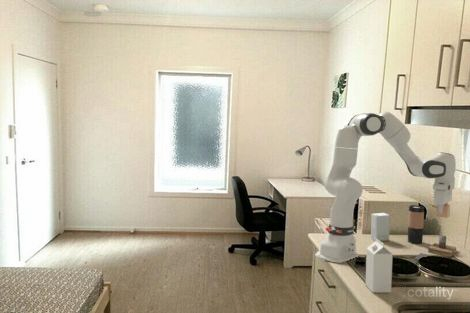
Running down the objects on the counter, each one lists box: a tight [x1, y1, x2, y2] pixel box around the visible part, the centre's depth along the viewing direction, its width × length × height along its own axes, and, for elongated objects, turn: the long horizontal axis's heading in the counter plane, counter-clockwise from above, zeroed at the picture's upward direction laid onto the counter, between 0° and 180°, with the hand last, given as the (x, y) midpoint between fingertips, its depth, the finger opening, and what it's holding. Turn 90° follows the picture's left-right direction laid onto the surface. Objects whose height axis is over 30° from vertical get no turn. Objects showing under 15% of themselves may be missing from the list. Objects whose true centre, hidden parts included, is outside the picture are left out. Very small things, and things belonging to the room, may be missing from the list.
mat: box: [413, 252, 433, 261], centre depth 174 cm, size 11×10×1 cm
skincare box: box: [370, 212, 391, 242], centre depth 204 cm, size 8×6×15 cm
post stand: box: [427, 234, 457, 258], centre depth 185 cm, size 12×10×8 cm
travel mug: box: [407, 204, 425, 245], centre depth 199 cm, size 8×8×20 cm
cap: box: [435, 203, 451, 219], centre depth 183 cm, size 5×5×6 cm
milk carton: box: [365, 239, 393, 294], centre depth 140 cm, size 7×7×19 cm
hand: (442, 211), depth 183 cm, fingers closed on cap, 5 cm apart
